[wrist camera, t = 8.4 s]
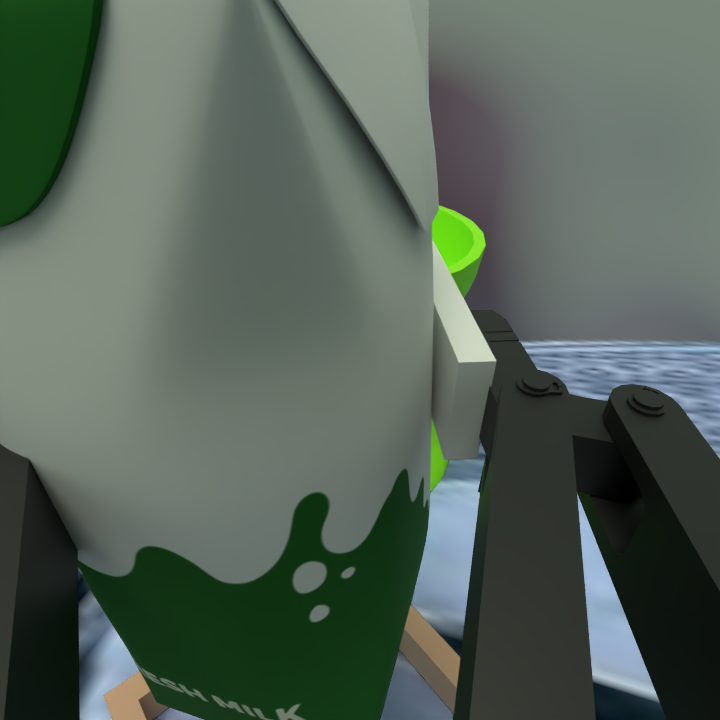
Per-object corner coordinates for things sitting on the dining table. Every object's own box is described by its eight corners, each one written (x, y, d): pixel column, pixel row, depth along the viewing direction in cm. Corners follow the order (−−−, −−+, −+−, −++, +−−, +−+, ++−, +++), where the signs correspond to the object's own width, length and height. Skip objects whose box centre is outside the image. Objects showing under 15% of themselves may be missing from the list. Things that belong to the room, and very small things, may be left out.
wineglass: (268, 381, 48) (247, 191, 37) (434, 381, 48) (458, 193, 38) (239, 521, 35) (195, 287, 24) (467, 519, 35) (519, 289, 25)
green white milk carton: (113, 727, 15) (-671, -253, 4) (249, 501, 22) (85, -86, 11) (390, 831, 13) (225, -790, 2) (444, 541, 20) (474, -153, 9)
